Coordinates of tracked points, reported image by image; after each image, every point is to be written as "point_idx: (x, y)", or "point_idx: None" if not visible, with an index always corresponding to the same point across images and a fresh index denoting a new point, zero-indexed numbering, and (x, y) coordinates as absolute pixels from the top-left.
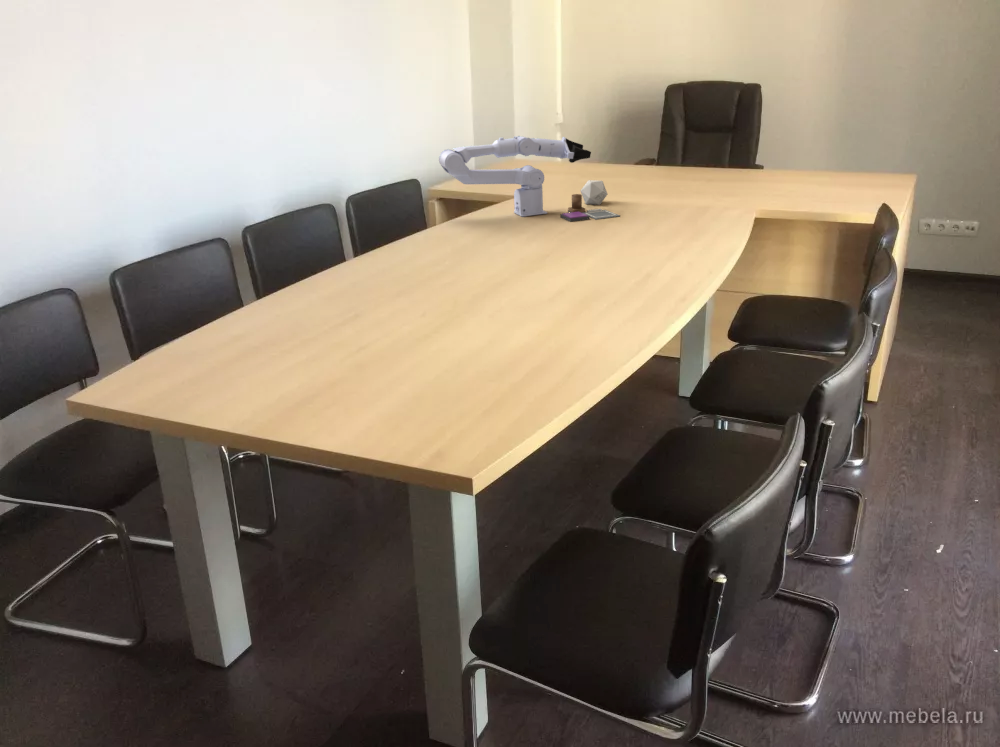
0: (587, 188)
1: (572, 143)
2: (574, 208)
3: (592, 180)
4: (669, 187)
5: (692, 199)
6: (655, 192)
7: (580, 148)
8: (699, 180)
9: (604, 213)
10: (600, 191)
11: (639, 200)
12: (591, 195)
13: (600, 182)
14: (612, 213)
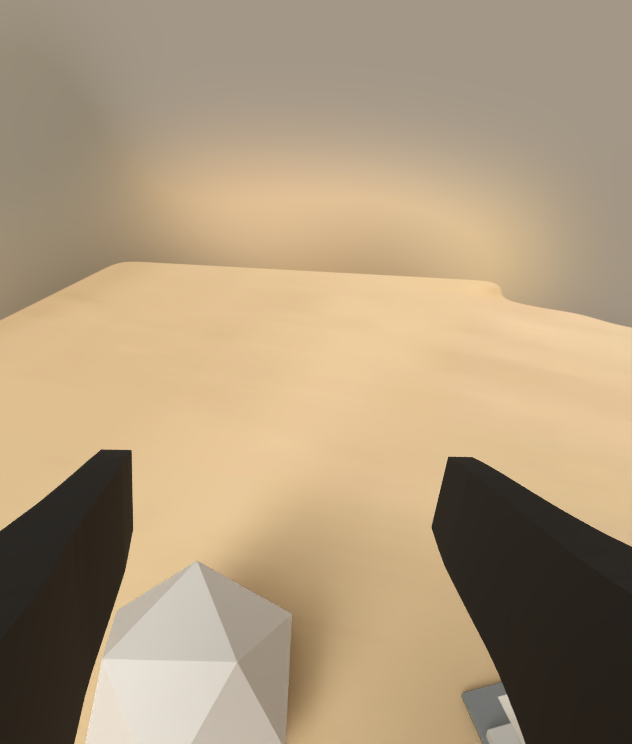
0: (225, 723)
1: (59, 586)
2: None
3: (138, 627)
4: (77, 365)
5: (310, 357)
6: (126, 407)
7: (123, 519)
8: (49, 306)
9: None
10: (286, 632)
11: (245, 478)
12: (282, 722)
13: (217, 584)
14: None
